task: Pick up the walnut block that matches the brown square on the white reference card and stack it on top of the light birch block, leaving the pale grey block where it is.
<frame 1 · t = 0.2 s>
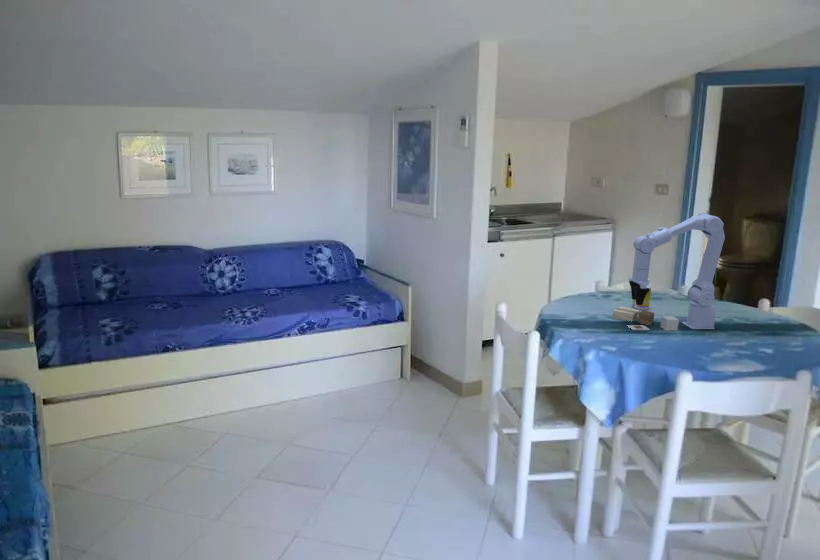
hand: (637, 302, 254), 9 cm above the table, tool pointing down, fingers open, 7 cm apart
walnut block: (645, 323, 260), on the table
grey block: (668, 329, 254), on the table
birch base block: (625, 318, 266), on the table
reference card: (638, 328, 253), on the table
supplement bottle: (640, 308, 281), on the table
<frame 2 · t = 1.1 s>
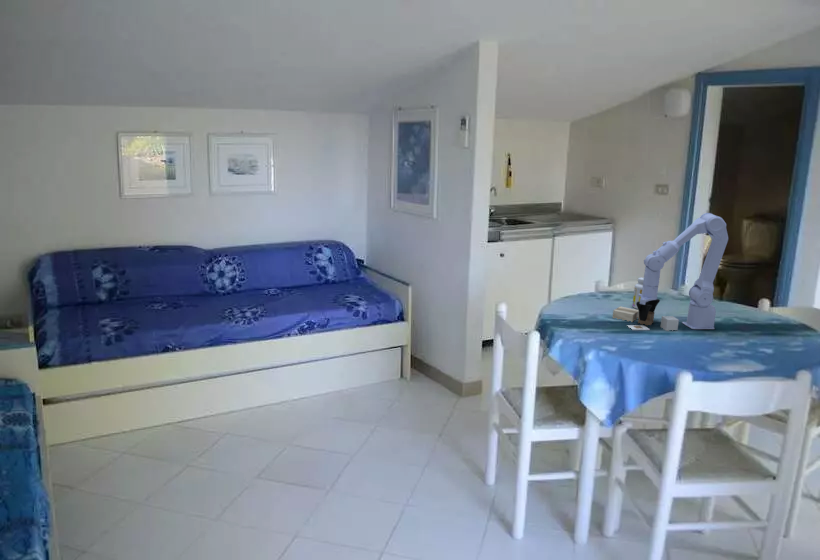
hand: (645, 318, 259), 2 cm above the table, tool pointing down, fingers open, 7 cm apart
nothing on the table moved.
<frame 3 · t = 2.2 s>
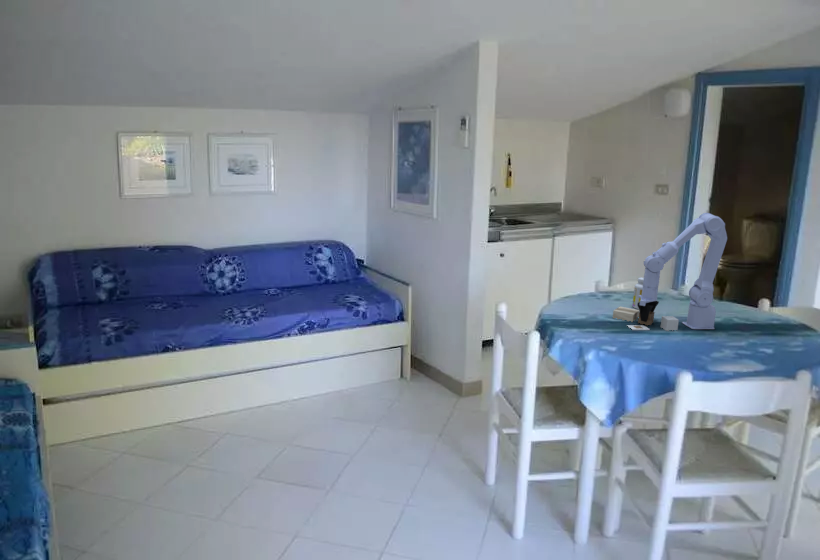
hand: (645, 319, 259), 1 cm above the table, tool pointing down, fingers closed on walnut block, 4 cm apart
walnut block: (645, 323, 260), on the table, touching gripper
everything else where it was.
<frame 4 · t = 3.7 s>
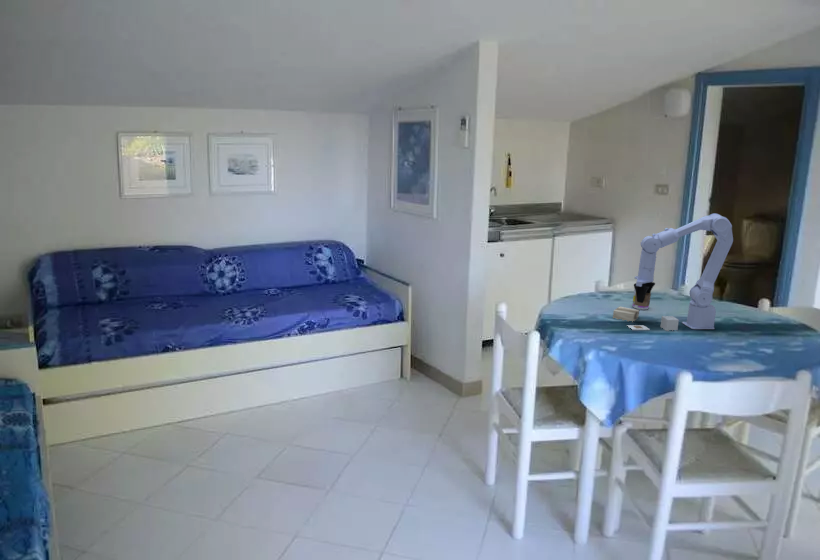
hand: (642, 301, 259), 9 cm above the table, tool pointing down, fingers closed on walnut block, 4 cm apart
walnut block: (641, 304, 259), point 7 cm above the table, touching gripper
everything else where it was.
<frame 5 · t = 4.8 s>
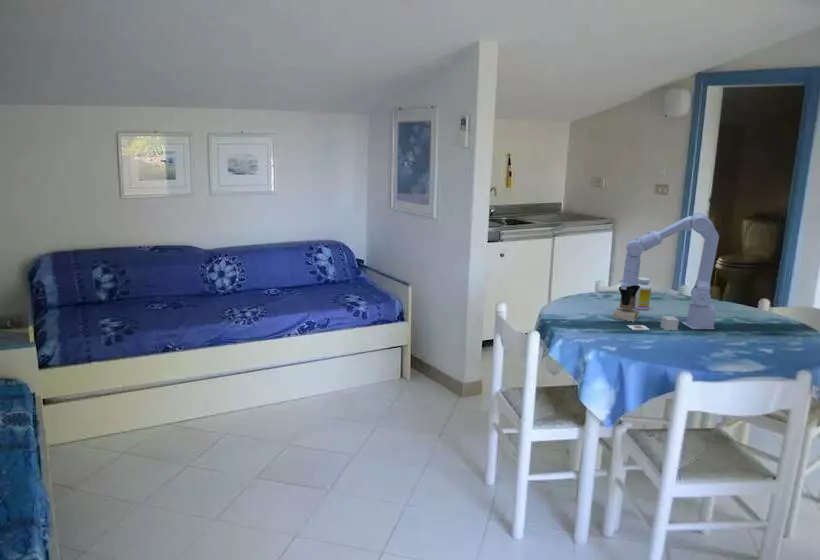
hand: (627, 303, 264), 6 cm above the table, tool pointing down, fingers closed on walnut block, 4 cm apart
walnut block: (627, 307, 264), point 4 cm above the table, touching gripper
everything else where it was.
when the fingers open (6 cm above the table, at t = 5.3 s): walnut block drops 1 cm, resting on birch base block.
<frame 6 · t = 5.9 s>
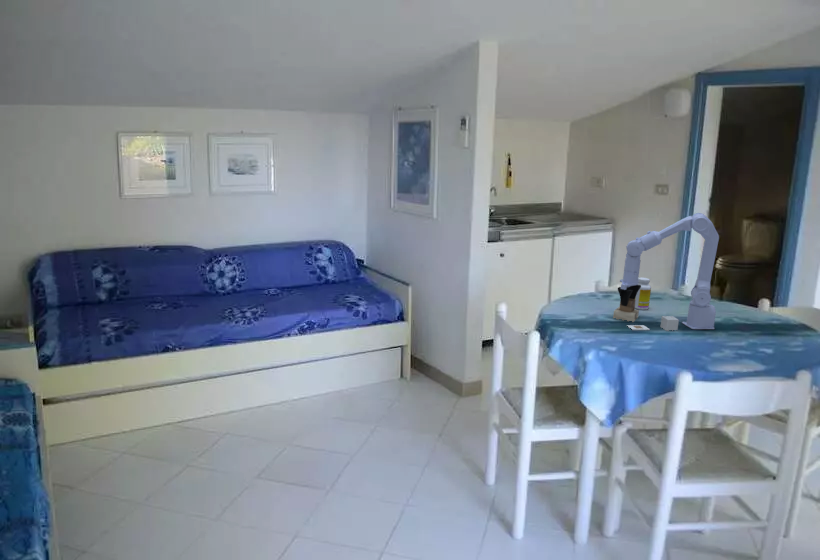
hand: (627, 303, 264), 6 cm above the table, tool pointing down, fingers open, 7 cm apart
walnut block: (626, 310, 265), point 3 cm above the table, touching birch base block
birch base block: (625, 318, 266), on the table, touching walnut block
everything else where it was.
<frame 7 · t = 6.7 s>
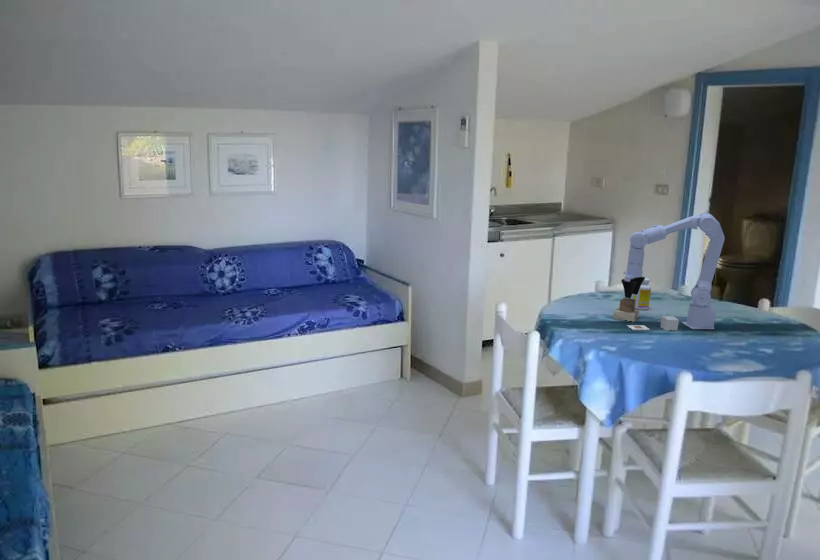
hand: (631, 295, 263), 9 cm above the table, tool pointing down, fingers open, 7 cm apart
walnut block: (626, 310, 265), point 3 cm above the table
birch base block: (625, 318, 266), on the table
everything else where it was.
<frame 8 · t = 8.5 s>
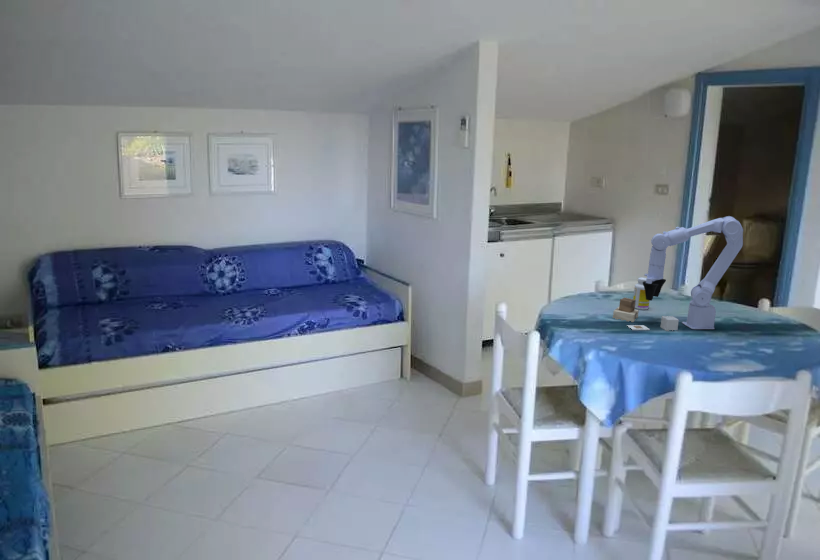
hand: (652, 298, 261), 9 cm above the table, tool pointing down, fingers open, 7 cm apart
walnut block: (626, 310, 265), point 3 cm above the table, touching birch base block
birch base block: (625, 318, 266), on the table, touching walnut block
everything else where it was.
at the end: walnut block 0.3 cm off-centre on the birch base block, point 3.5 cm above the birch base block's base; walnut block tilted 1°; grey block moved 0.1 cm from its start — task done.
